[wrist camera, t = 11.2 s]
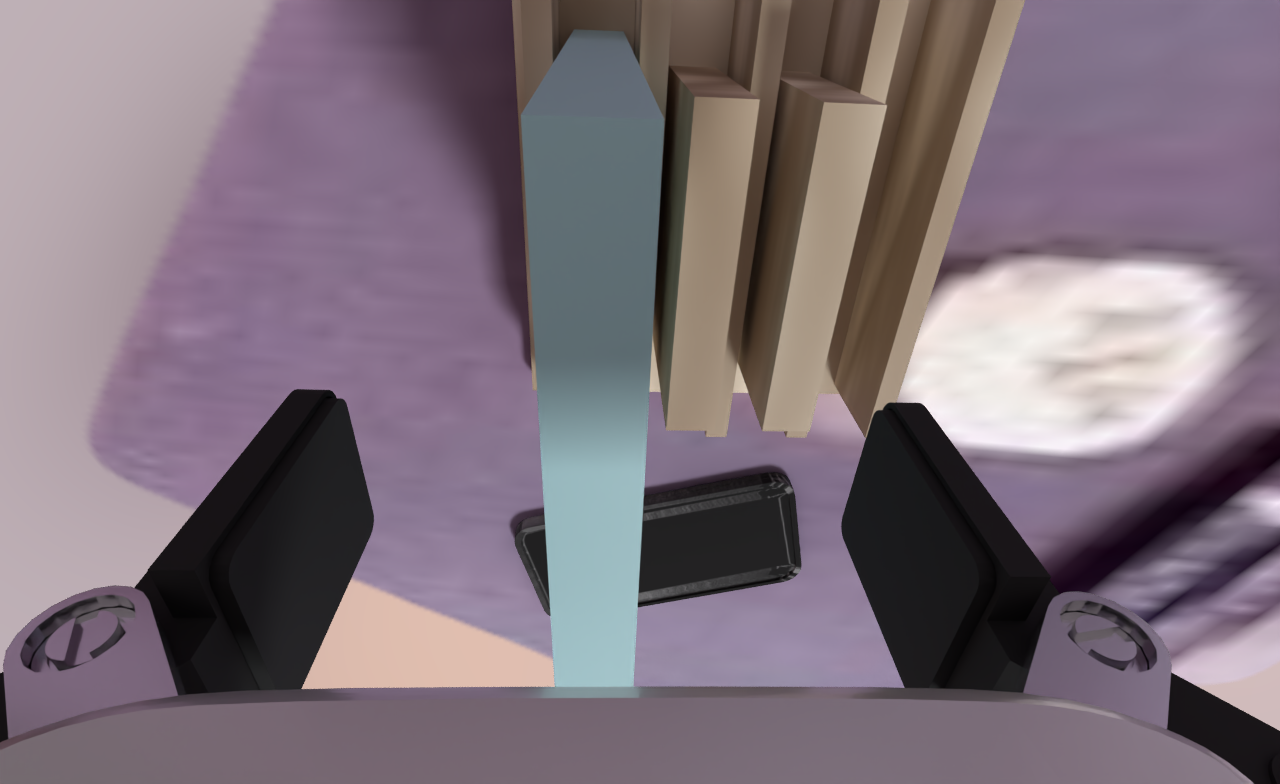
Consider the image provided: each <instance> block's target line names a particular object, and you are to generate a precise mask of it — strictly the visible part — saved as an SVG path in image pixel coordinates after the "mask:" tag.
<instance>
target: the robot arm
mask: <svg viewBox="0 0 1280 784" xmlns="http://www.w3.org/2000/svg"><path fill="white" fill-rule="evenodd" d="M373 523H374V515H373V510H372V505H371V501H370V497H369V493H368V489H367V485H366V481H365V477H364V473H363V469H362V465H361V461H360V456H359V452H358V448H357V444H356V440H355V436H354V432H353V428H352V424H351V420H350V416H349V411H348V407H347V404H346V402H345V401H344V400H343V399H337V398H336V396H335V394H334V393H333V392H332V391H330V390H304V389H297V390H294V391H292V392H291V393H290V394H289V396H288V397H287V398H286V399H285V400H284V402H283V403H282V404H281V405H280V407H279V408H278V409H277V410H276V412H275V413H274V414H273V415H272V417H271V418H270V419H269V420H268V422H267V423H266V424H265V425H264V427H263V428H262V429H261V430H260V431H259V433H258V434H257V435H256V436H255V438H254V439H253V440H252V441H251V443H250V444H249V445H248V446H247V448H246V449H245V450H244V451H243V453H242V454H241V455H240V456H239V457H238V459H237V460H236V461H235V462H234V464H233V465H232V466H231V467H230V469H229V470H228V471H227V472H226V474H225V475H224V476H223V477H222V479H221V480H220V481H219V482H218V483H217V485H216V486H215V487H214V488H213V490H212V491H211V492H210V493H209V495H208V496H207V497H206V498H205V500H204V501H203V502H202V503H201V505H200V506H199V507H198V508H197V509H196V511H195V512H194V513H193V515H192V516H191V517H190V518H189V519H188V521H187V522H186V523H185V525H184V526H183V527H182V528H181V529H180V531H179V532H178V533H177V534H176V536H175V537H174V538H173V539H172V541H171V542H170V543H169V544H168V546H167V547H166V548H165V549H164V550H163V552H162V553H161V554H160V555H159V557H158V558H157V559H156V560H155V562H154V563H153V564H152V565H151V566H150V568H149V569H148V571H147V573H146V574H145V575H144V577H143V578H142V579H141V580H140V582H139V583H138V584H137V585H136V586H135V588H133V587H128V586H108V587H101V588H94V589H92V590H88V591H85V592H82V593H79V594H76V595H73V596H71V597H69V598H67V599H65V600H63V601H61V602H59V603H57V604H55V605H53V606H51V607H50V608H48V609H47V610H45V611H44V612H42V613H41V614H39V615H38V616H37V617H35V618H34V619H32V620H31V621H30V622H29V623H28V624H27V625H26V626H25V627H24V628H23V629H22V630H21V631H20V632H19V633H18V634H17V635H16V636H15V638H14V639H13V641H12V642H11V644H10V645H9V647H8V648H7V650H6V654H5V659H4V663H3V671H4V672H2V673H0V784H1280V731H1279V730H1277V729H1275V728H1273V727H1271V726H1270V725H1268V724H1266V723H1264V722H1262V721H1260V720H1258V719H1257V718H1255V717H1253V716H1251V715H1249V714H1247V713H1246V712H1244V711H1242V710H1240V709H1238V708H1236V707H1234V706H1232V705H1231V704H1229V703H1227V702H1225V701H1223V700H1221V699H1219V698H1218V697H1216V696H1214V695H1212V694H1210V693H1208V692H1206V691H1205V690H1203V689H1201V688H1199V687H1197V686H1195V685H1193V684H1192V683H1190V682H1188V681H1186V680H1184V679H1182V678H1180V677H1179V676H1177V675H1175V674H1173V673H1171V667H1172V665H1171V659H1170V654H1169V651H1168V649H1167V647H1166V646H1165V644H1164V642H1163V641H1162V639H1161V637H1160V636H1159V635H1158V634H1157V633H1156V632H1155V631H1154V630H1153V629H1152V628H1151V627H1150V626H1149V625H1148V624H1147V623H1146V622H1145V621H1144V620H1142V619H1141V618H1140V617H1138V616H1137V615H1136V614H1134V613H1133V612H1132V611H1130V610H1128V609H1126V608H1125V607H1123V606H1121V605H1119V604H1117V603H1116V602H1114V601H1111V600H1109V599H1106V598H1103V597H1100V596H1098V595H1095V594H1089V593H1083V592H1065V593H1062V594H1059V592H1058V591H1057V590H1056V588H1055V587H1054V586H1053V584H1052V583H1051V581H1050V578H1051V576H1050V575H1049V574H1048V572H1047V571H1046V570H1045V568H1044V567H1043V566H1042V564H1041V563H1040V562H1039V560H1038V559H1037V557H1036V556H1035V555H1034V553H1033V552H1032V551H1031V549H1030V548H1029V547H1028V545H1027V544H1026V543H1025V541H1024V540H1023V539H1022V537H1021V536H1020V534H1019V533H1018V532H1017V530H1016V529H1015V528H1014V526H1013V525H1012V524H1011V522H1010V521H1009V520H1008V518H1007V517H1006V515H1005V514H1004V513H1003V511H1002V510H1001V509H1000V507H999V506H998V505H997V503H996V502H995V501H994V499H993V498H992V497H991V495H990V494H989V492H988V491H987V490H986V488H985V487H984V486H983V484H982V483H981V482H980V480H979V479H978V478H977V476H976V475H975V474H974V472H973V471H972V469H971V468H970V467H969V465H968V464H967V463H966V461H965V460H964V459H963V457H962V456H961V455H960V453H959V452H958V451H957V449H956V448H955V446H954V445H953V444H952V442H951V441H950V440H949V438H948V437H947V436H946V434H945V433H944V432H943V430H942V429H941V427H940V426H939V425H938V423H937V422H936V421H935V419H934V418H933V417H932V415H931V414H930V413H929V411H928V410H927V409H926V407H925V406H924V405H923V404H920V403H894V402H889V403H887V404H886V405H885V406H884V408H883V410H877V411H876V412H875V413H874V415H873V417H872V420H871V424H870V427H869V430H868V434H867V437H866V440H865V444H864V447H863V451H862V454H861V457H860V461H859V464H858V467H857V471H856V474H855V477H854V481H853V484H852V487H851V491H850V494H849V498H848V501H847V504H846V508H845V511H844V514H843V518H842V526H841V527H842V536H843V539H844V542H845V544H846V546H847V549H848V551H849V554H850V556H851V559H852V561H853V563H854V566H855V568H856V571H857V573H858V576H859V578H860V580H861V583H862V585H863V588H864V590H865V593H866V595H867V597H868V600H869V602H870V605H871V607H872V609H873V612H874V614H875V617H876V619H877V622H878V624H879V626H880V629H881V631H882V634H883V636H884V639H885V641H886V643H887V646H888V648H889V651H890V653H891V656H892V658H893V660H894V663H895V665H896V668H897V670H898V673H899V675H900V677H901V680H902V682H903V685H904V687H905V688H884V687H450V688H449V687H448V688H447V687H442V688H441V687H439V688H341V689H340V688H337V689H301V688H302V686H303V684H304V682H305V679H306V677H307V675H308V673H309V671H310V668H311V666H312V664H313V662H314V660H315V657H316V655H317V653H318V651H319V648H320V646H321V644H322V642H323V640H324V637H325V635H326V633H327V631H328V629H329V626H330V624H331V622H332V619H333V617H334V615H335V613H336V611H337V609H338V606H339V604H340V602H341V600H342V597H343V595H344V593H345V591H346V588H347V586H348V584H349V582H350V580H351V578H352V575H353V573H354V571H355V569H356V566H357V564H358V562H359V560H360V558H361V555H362V553H363V551H364V549H365V546H366V544H367V542H368V540H369V538H370V535H371V533H372V529H373Z"/></svg>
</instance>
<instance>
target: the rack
mask: <svg viewBox="0 0 1280 784" xmlns="http://www.w3.org/2000/svg"><path fill="white" fill-rule="evenodd" d="M1024 2H1025V0H512V11H513V29H514V48H515V67H516V85H517V104H518V122H519V141H520V160H521V178H522V197H523V215H524V234H525V253H526V271H527V290H528V309H529V327H530V346H531V364H532V383H533V390H537V379H536V363H535V346H534V329H533V312H532V295H531V279H530V262H529V245H528V228H527V212H526V195H525V178H524V161H523V144H522V128H521V114H522V112H523V110H524V109H525V107H526V106H527V104H528V102H529V101H530V99H531V98H532V96H533V94H534V93H535V91H536V90H537V88H538V86H539V85H540V83H541V82H542V80H543V78H544V77H545V75H546V74H547V72H548V70H549V69H550V67H551V66H552V64H553V62H554V61H555V59H556V58H557V56H558V54H559V53H560V51H561V50H562V48H563V46H564V45H565V43H566V42H567V40H568V38H569V37H570V35H571V34H572V32H573V30H574V29H578V30H602V31H624V33H625V36H626V38H627V40H628V42H629V44H630V46H631V49H632V51H633V53H634V55H635V57H636V59H637V61H638V64H639V66H640V68H641V70H642V72H643V74H644V77H645V79H646V81H647V83H648V85H649V87H650V90H651V92H652V94H653V96H654V98H655V100H656V102H657V105H658V107H659V109H660V111H661V113H662V115H663V118H664V135H665V119H666V103H667V88H668V72H669V66H690V67H711V68H717V69H719V70H720V71H721V72H723V73H724V74H725V75H727V76H728V77H730V78H731V79H732V80H734V81H735V82H736V83H738V84H739V85H741V86H742V87H743V88H745V89H746V90H747V91H749V92H750V93H752V94H753V95H754V96H756V97H757V98H758V99H760V102H759V109H758V116H757V124H756V131H755V138H754V146H753V153H752V160H751V167H750V175H749V182H748V189H747V197H746V204H745V211H744V219H743V226H742V233H741V240H740V248H739V255H738V262H737V270H736V277H735V284H734V292H733V299H732V306H731V313H730V321H729V328H728V335H727V343H726V350H725V357H724V365H723V372H722V379H721V387H720V394H719V401H718V408H717V416H716V423H715V430H714V431H705V434H706V437H726V435H727V429H728V422H729V415H730V409H731V402H732V395H733V393H748V390H747V387H746V384H745V382H744V379H743V376H742V373H741V370H740V368H739V365H738V355H739V349H740V342H741V336H742V329H743V322H744V316H745V309H746V302H747V296H748V289H749V282H750V276H751V269H752V262H753V256H754V249H755V242H756V236H757V229H758V223H759V216H760V209H761V203H762V196H763V189H764V183H765V176H766V169H767V163H768V156H769V149H770V143H771V136H772V129H773V123H774V116H775V110H776V103H777V96H778V90H779V83H780V76H781V71H796V72H810V73H812V74H815V75H817V76H820V77H822V78H824V79H827V80H829V81H831V82H834V83H836V84H839V85H841V86H843V87H846V88H848V89H850V90H853V91H855V92H858V93H860V94H862V95H865V96H867V97H869V98H872V99H874V100H876V101H879V102H881V103H884V104H886V105H887V109H886V113H885V117H884V121H883V125H882V130H881V134H880V138H879V142H878V146H877V151H876V155H875V159H874V163H873V167H872V171H871V176H870V180H869V184H868V188H867V192H866V197H865V201H864V205H863V209H862V213H861V218H860V222H859V226H858V230H857V234H856V239H855V243H854V247H853V251H852V255H851V260H850V264H849V268H848V272H847V276H846V281H845V285H844V289H843V293H842V297H841V302H840V306H839V310H838V314H837V318H836V323H835V327H834V331H833V335H832V339H831V344H830V348H829V352H828V356H827V360H826V365H825V369H824V373H823V377H822V381H821V386H820V390H819V394H840V395H841V397H842V399H843V400H844V402H845V404H846V406H847V407H848V409H849V411H850V413H851V414H852V416H853V418H854V419H855V421H856V423H857V425H858V426H859V428H860V430H861V431H862V433H863V435H864V437H865V438H866V437H867V434H868V430H869V427H870V424H871V420H872V417H873V415H874V413H875V412H876V411H877V410H883V408H884V406H885V405H886V404H887V403H889V402H894V403H896V401H897V398H898V395H899V392H900V389H901V386H902V383H903V380H904V376H905V373H906V370H907V367H908V364H909V361H910V358H911V355H912V352H913V348H914V345H915V342H916V339H917V336H918V333H919V330H920V327H921V323H922V320H923V317H924V314H925V311H926V308H927V305H928V302H929V298H930V295H931V292H932V289H933V286H934V283H935V280H936V277H937V274H938V270H939V267H940V264H941V261H942V258H943V255H944V252H945V249H946V245H947V242H948V239H949V236H950V233H951V230H952V227H953V224H954V220H955V217H956V214H957V211H958V208H959V205H960V202H961V199H962V195H963V192H964V189H965V186H966V183H967V180H968V177H969V174H970V171H971V167H972V164H973V161H974V158H975V155H976V152H977V149H978V146H979V142H980V139H981V136H982V133H983V130H984V127H985V124H986V121H987V117H988V114H989V111H990V108H991V105H992V102H993V99H994V96H995V93H996V89H997V86H998V83H999V80H1000V77H1001V74H1002V71H1003V68H1004V64H1005V61H1006V58H1007V55H1008V52H1009V49H1010V46H1011V43H1012V39H1013V36H1014V33H1015V30H1016V27H1017V24H1018V21H1019V18H1020V14H1021V11H1022V8H1023V5H1024ZM663 150H664V136H663ZM662 166H663V154H662ZM661 182H662V172H661ZM660 197H661V190H660ZM659 213H660V209H659ZM658 229H659V227H658ZM649 392H661V391H660V384H659V377H658V370H657V363H656V356H655V349H654V343H653V336H652V354H651V372H650V390H649ZM807 432H808V431H784V433H785V435H786V437H806V436H807Z"/></svg>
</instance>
